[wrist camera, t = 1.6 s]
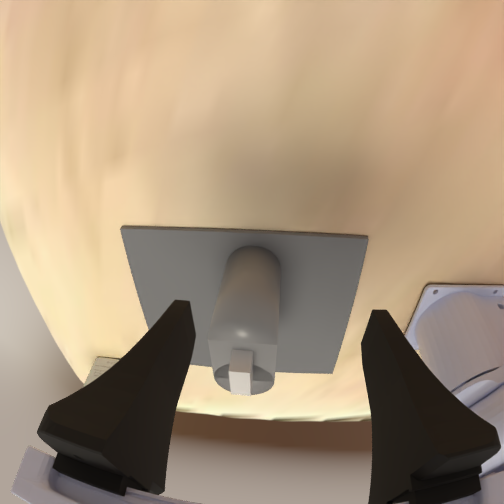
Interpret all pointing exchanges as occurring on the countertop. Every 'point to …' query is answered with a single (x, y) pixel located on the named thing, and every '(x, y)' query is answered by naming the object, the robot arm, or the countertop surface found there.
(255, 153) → the countertop surface
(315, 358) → the mat
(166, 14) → the countertop surface
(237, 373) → the connector
